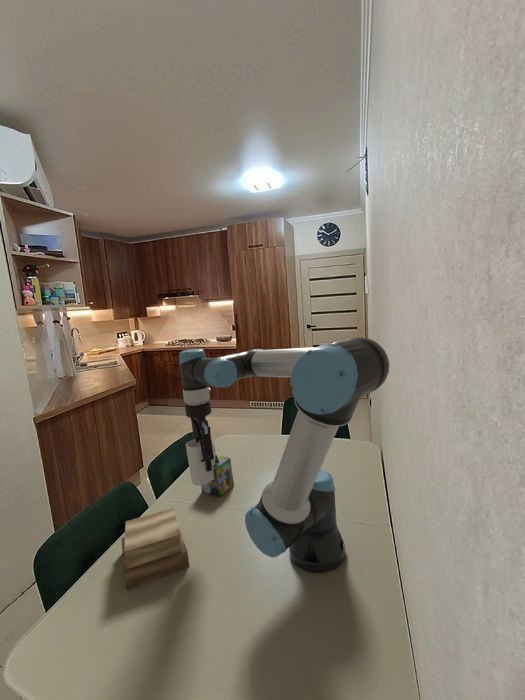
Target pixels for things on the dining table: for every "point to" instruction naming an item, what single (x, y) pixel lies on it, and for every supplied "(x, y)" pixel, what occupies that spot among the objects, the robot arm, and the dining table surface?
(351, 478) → the dining table surface
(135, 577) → the wooden stepped stand
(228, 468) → the chalk box
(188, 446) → the mug
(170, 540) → the beech slab
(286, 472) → the robot arm
